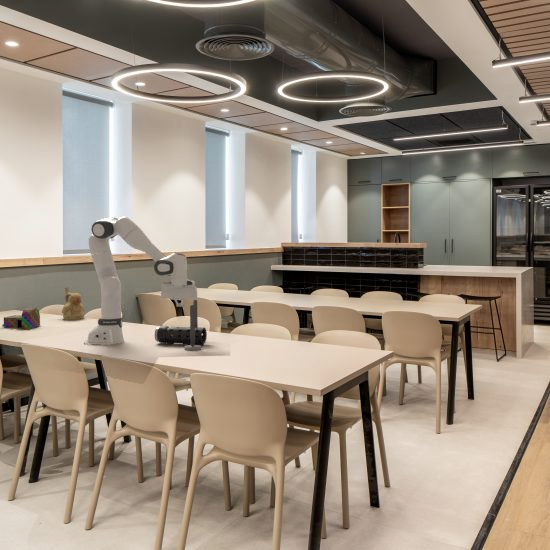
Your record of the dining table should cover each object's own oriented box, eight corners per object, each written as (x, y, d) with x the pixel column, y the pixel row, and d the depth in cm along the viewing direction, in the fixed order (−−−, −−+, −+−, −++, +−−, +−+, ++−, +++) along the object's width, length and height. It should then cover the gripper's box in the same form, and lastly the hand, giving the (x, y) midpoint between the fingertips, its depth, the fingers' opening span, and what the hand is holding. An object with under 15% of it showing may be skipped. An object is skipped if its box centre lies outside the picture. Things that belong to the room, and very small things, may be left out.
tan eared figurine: (69, 323, 411) (68, 289, 410) (56, 321, 425) (55, 287, 423) (90, 320, 424) (89, 287, 423) (77, 318, 437) (76, 286, 436)
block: (44, 326, 396) (43, 306, 396) (30, 330, 380) (30, 309, 379) (11, 326, 400) (10, 306, 399) (-4, 329, 383) (-5, 308, 382)
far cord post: (187, 341, 330) (186, 300, 329) (188, 338, 339) (188, 299, 338) (203, 341, 331) (202, 300, 330) (203, 338, 340) (203, 298, 339)
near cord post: (183, 350, 300) (183, 306, 299) (184, 347, 309) (184, 304, 308) (200, 350, 301) (200, 305, 300) (201, 347, 310) (201, 304, 309)
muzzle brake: (201, 347, 313) (201, 328, 312) (154, 345, 318) (153, 327, 318) (207, 344, 322) (206, 326, 321) (160, 342, 328) (160, 324, 327)
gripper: (159, 282, 314) (159, 307, 314) (197, 282, 316) (197, 307, 316) (161, 281, 320) (161, 305, 321) (197, 281, 322) (197, 305, 322)
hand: (179, 306), depth 318 cm, fingers closed
